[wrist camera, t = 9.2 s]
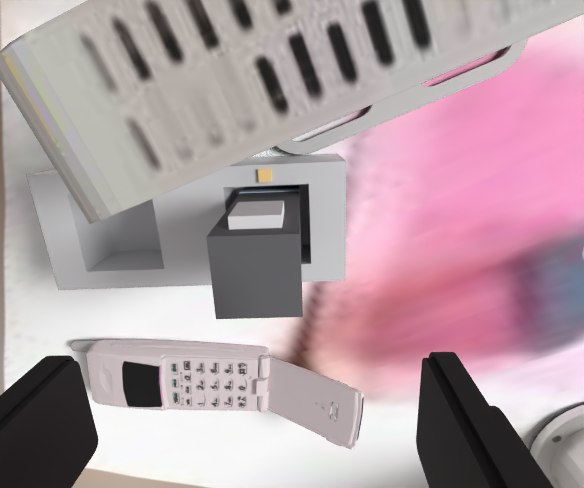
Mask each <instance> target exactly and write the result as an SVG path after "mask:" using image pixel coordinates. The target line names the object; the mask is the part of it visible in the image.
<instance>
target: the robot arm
mask: <svg viewBox="0 0 584 488" xmlns="http://www.w3.org/2000/svg"><path fill="white" fill-rule="evenodd" d="M416 443H417V450H418V455H419V458H420V461H421V464H422V467H423V470H424V473H425V476H426V479H427V482H428V485H429V488H584V405H580V406H578V407H575V408H573V409H571V410H568V411H566V412H564V413H563V414H561V415H559V416H558V417H556V418H555V419H554V420H552V421H551V422H550V423H549V424H547V425H546V426H545V427H544V428H543V430H542V431H541V432H540V433H539V434H538V436H537V437H536V439H535V441H534V442H533V444H532V447H531V450H530V452H529V450H528V449H527V447H526V446H525V444H524V443H523V441H522V440H521V438H520V437H519V436H518V434H517V433H516V431H515V430H514V428H513V427H512V425H511V424H510V422H509V421H508V419H507V418H506V416H505V415H504V413H503V412H502V411H501V410H500V409H499V408H498V407H496V406H489V405H488V403H487V401H486V400H485V398H484V397H483V395H482V394H481V392H480V391H479V389H478V388H477V386H476V384H475V383H474V381H473V380H472V378H471V377H470V375H469V374H468V372H467V371H466V369H465V367H464V366H463V364H462V363H461V361H460V360H459V358H458V357H457V355H456V354H455V353H454V352H431V353H430V355H429V358H423V360H422V370H421V383H420V397H419V410H418V423H417V436H416ZM97 445H98V436H97V432H96V428H95V424H94V420H93V416H92V412H91V408H90V404H89V400H88V397H87V393H86V389H85V385H84V381H83V377H82V373H81V369H80V366H79V363H78V362H76V361H74V359H73V358H72V357H71V356H46V357H45V358H43V359H42V360H41V361H40V362H39V363H37V364H36V365H35V366H34V367H33V368H32V369H30V370H29V371H28V372H27V373H26V374H25V375H24V376H22V377H21V378H20V379H19V380H18V381H17V382H15V383H14V384H13V385H12V386H11V387H10V388H8V389H7V390H6V391H5V392H4V393H3V394H2V395H0V488H71V487H72V486H73V485H74V483H75V481H76V480H77V478H78V477H79V475H80V474H81V472H82V471H83V469H84V468H85V466H86V465H87V463H88V462H89V460H90V459H91V457H92V456H93V454H94V453H95V451H96V448H97Z"/></svg>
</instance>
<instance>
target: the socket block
mask: <svg viewBox="0 0 584 488" xmlns="http://www.w3.org/2000/svg"><path fill="white" fill-rule="evenodd" d="M26 176H27V179H28V183H29V187H30V190H31V194H32V197H33V201H34V204H35V208H36V212H37V215H38V219H39V222H40V226H41V229H42V233H43V237H44V240H45V244H46V247H47V251H48V254H49V258H50V262H51V265H52V269H53V272H54V276H55V279H56V283H57V287H58V290H73V289H103V288H133V287H163V286H193V285H212V280H211V272H210V263H209V255H208V247H207V239H206V237H207V235H208V234H209V233H210V231H211V230H212V229H213V228H214V226H215V225H216V224H217V222H218V221H219V220H220V218H221V217H222V216H223V215H224V213H225V212H226V211H227V209H228V208H229V207H230V206H231V204H232V203H233V202H234V200H235V199H236V198H237V197H238V195H239V192H240V191H241V190H243V189H244V187H257V186H285V185H299V188H300V211H301V243H302V248H301V271H302V282H313V281H343V280H345V246H346V161H345V160H344V159H343V158H342V157H341V156H339V155H338V154H320V155H296V156H273V157H250V158H246V159H244V160H242V161H239V162H237V163H235V164H232V165H230V166H228V167H225V168H223V169H221V170H218V171H216V172H214V173H211V174H209V175H207V176H204V177H202V178H200V179H197V180H195V181H193V182H191V183H188V184H186V185H184V186H181V187H179V188H177V189H174V190H172V191H170V192H167V193H165V194H163V195H160V196H158V197H156V198H153V199H151V200H149V201H146V202H144V203H141V204H139V205H137V206H134V207H132V208H129V209H127V210H124V211H122V212H119V213H117V214H114V215H112V216H110V217H107V218H105V219H102V220H100V221H97V222H95V223H91V224H89V222H88V221H87V219H86V217H85V216H84V214H83V213H82V211H81V209H80V208H79V206H78V204H77V203H76V201H75V199H74V198H73V196H72V195H71V193H70V191H69V190H68V188H67V186H66V185H65V183H64V182H63V180H62V178H61V177H60V175H59V173H58V172H57V170H56V169H52V170H47V171H42V172H38V173H33V174H28V175H26Z"/></svg>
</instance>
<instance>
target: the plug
mask: <svg viewBox="0 0 584 488" xmlns="http://www.w3.org/2000/svg"><path fill="white" fill-rule="evenodd" d="M206 239H207V247H208V255H209V263H210V272H211V280H212V288H213V297H214V305H215V313H216V319H236V318H275V317H303V313H302V271H301V248H302V243H301V211H300V188H299V185H285V186H257V187H244V189H243V190H241V191H240V192H239V195H238V197H237V198H236V199H235V200H234V202H233V203H232V204H231V206H230V207H229V208H228V209H227V211H226V212H225V213H224V215H223V216H222V217H221V218H220V220H219V221H218V222H217V224H216V225H215V226H214V228H213V229H212V230H211V231H210V233H209V234H208V235H207V237H206Z"/></svg>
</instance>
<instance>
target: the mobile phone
mask: <svg viewBox="0 0 584 488" xmlns="http://www.w3.org/2000/svg"><path fill="white" fill-rule="evenodd" d="M71 349H72V350H74V351H83V352H87V354H86V357H87V364H88V371H89V378H90V385H91V392H92V399H93V400H94V401H95V402H96V403H98V404H103V405H110V406H118V407H127V408H136V409H150V410H166V409H179V410H243V411H257V410H259V411H260V412H265V411H266V410H267V409H268V410H270V411H272V412H274V413H276V414H278V415H280V416H282V417H284V418H286V419H288V420H290V421H293V422H295V423H297V424H299V425H301V426H303V427H305V428H307V429H309V430H311V431H313V432H315V433H317V434H319V435H321V436H323V437H325V438H326V439H327V440H328V441H330V442H332V443H334V444H336V445H338V446H344V447H346V448H349V449H353V448H354V447H355V445H356V443H357V440H358V436H359V430H360V425H361V419H362V412H363V398H364V395H363V393H362V392H361V391H359V390H357V389H354V388H351V387H349V386H348V385H347V384H344V383H342V382H339V381H336V380H333V379H330V378H328V377H326V376H323V375H320V374H318V373H315V372H312V371H310V370H307V369H304V368H302V367H299V366H296V365H293V364H291V363H288V362H285V361H283V360H280V359H277V358H275V357H272V356H269V350H268V348H266V347H262V346H251V345H237V344H222V343H208V342H189V341H166V340H143V339H123V340H100V341H73V343H72V344H71Z"/></svg>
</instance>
